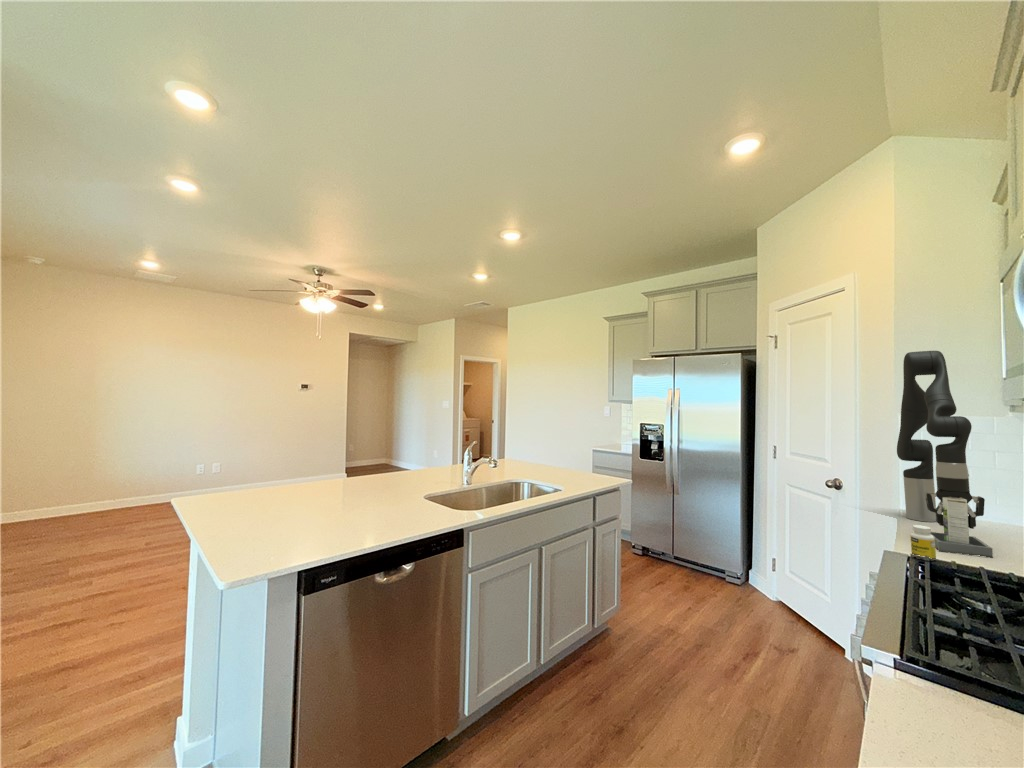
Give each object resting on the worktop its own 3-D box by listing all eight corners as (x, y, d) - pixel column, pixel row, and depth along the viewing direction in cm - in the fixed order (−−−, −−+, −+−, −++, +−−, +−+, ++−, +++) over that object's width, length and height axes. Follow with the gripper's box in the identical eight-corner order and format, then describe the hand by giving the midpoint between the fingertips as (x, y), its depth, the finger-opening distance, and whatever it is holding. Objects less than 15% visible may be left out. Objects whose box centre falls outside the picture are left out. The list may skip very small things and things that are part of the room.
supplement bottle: (908, 557, 131) (905, 525, 131) (917, 555, 133) (915, 523, 134) (930, 563, 126) (928, 529, 126) (940, 560, 128) (937, 527, 129)
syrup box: (944, 537, 143) (941, 494, 144) (969, 541, 139) (966, 496, 140) (944, 541, 139) (941, 496, 140) (970, 545, 135) (967, 499, 136)
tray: (926, 540, 148) (926, 531, 148) (975, 545, 141) (974, 536, 142) (939, 551, 136) (938, 541, 136) (992, 558, 130) (992, 548, 130)
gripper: (978, 476, 140) (982, 527, 139) (919, 472, 147) (923, 521, 146) (987, 479, 133) (992, 532, 132) (925, 475, 141) (929, 526, 140)
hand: (955, 526), depth 139 cm, fingers closed on syrup box, 6 cm apart
